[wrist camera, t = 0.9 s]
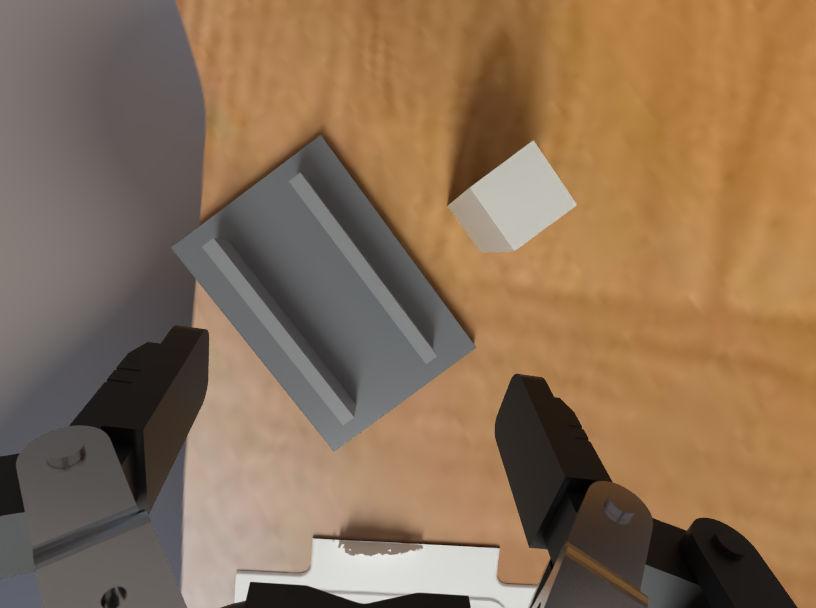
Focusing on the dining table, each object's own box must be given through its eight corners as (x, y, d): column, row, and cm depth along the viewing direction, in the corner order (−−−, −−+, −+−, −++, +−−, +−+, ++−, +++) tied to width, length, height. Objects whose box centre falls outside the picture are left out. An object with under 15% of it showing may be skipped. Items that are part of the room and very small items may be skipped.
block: (493, 171, 37) (533, 140, 27) (526, 218, 37) (577, 205, 27) (447, 205, 37) (469, 187, 27) (480, 252, 37) (514, 251, 28)
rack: (322, 138, 36) (314, 123, 32) (474, 345, 38) (484, 355, 34) (176, 247, 36) (151, 246, 32) (335, 446, 39) (329, 468, 35)
